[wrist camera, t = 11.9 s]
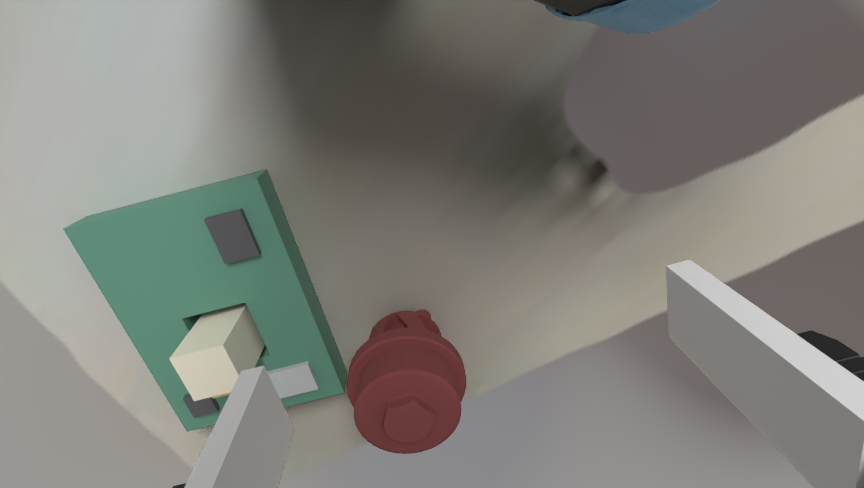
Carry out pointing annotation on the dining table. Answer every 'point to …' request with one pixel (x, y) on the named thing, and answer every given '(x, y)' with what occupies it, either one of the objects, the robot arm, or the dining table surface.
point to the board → (212, 285)
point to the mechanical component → (406, 384)
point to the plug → (218, 351)
